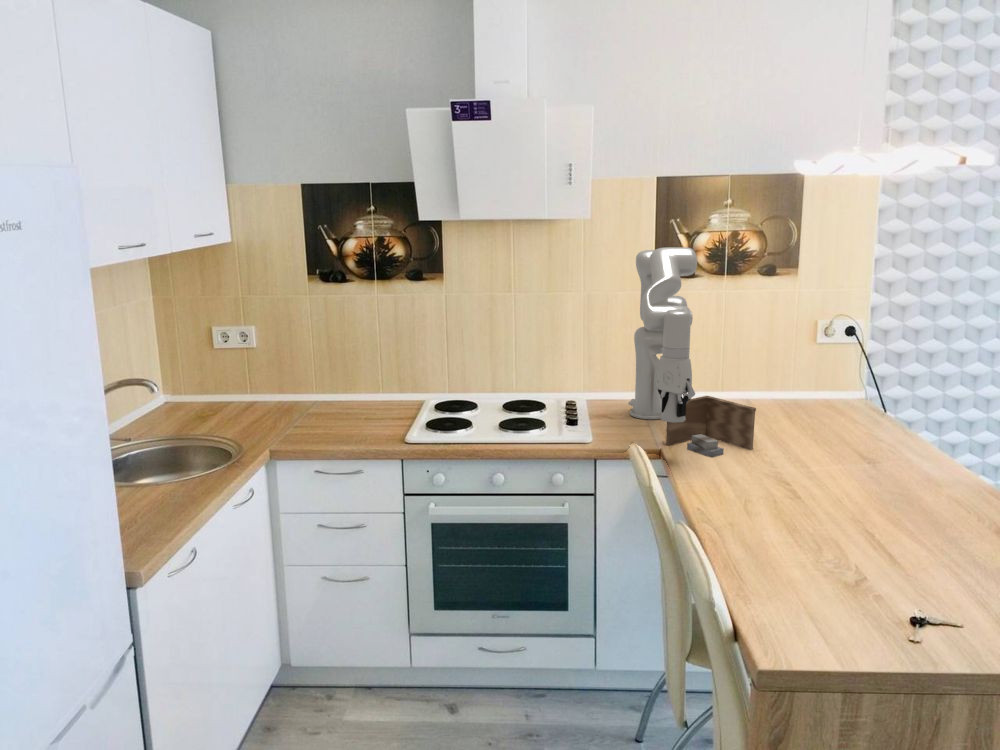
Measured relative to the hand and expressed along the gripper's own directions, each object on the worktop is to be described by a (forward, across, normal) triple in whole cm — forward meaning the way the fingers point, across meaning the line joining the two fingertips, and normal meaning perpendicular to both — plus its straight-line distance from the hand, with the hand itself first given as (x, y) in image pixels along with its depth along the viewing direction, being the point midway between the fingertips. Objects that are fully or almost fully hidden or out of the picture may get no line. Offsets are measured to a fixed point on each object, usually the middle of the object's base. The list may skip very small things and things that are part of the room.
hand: (673, 413), depth 249 cm
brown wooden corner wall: (+14, -2, +19) cm, 24 cm away
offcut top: (+13, 0, +14) cm, 19 cm away
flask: (+2, 0, 0) cm, 2 cm away
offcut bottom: (+15, 0, +14) cm, 21 cm away
